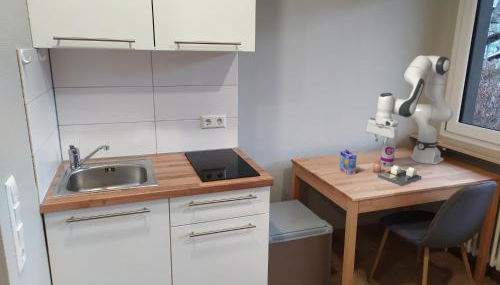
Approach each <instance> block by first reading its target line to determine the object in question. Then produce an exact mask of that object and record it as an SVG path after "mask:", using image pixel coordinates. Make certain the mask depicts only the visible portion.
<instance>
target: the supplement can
mask: <svg viewBox="0 0 500 285" xmlns="http://www.w3.org/2000/svg"><path fill="white" fill-rule="evenodd" d="M380 153H381V154H380V161H379V162H380V163H382V165H381V166H385V167H393V166H394V162H395V153H396V143H395V142H394V141H393V142H392V141H389V140H388V141H387V144H383V143H382V145H381V152H380Z"/></svg>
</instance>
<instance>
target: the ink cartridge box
mask: <svg viewBox="0 0 500 285" xmlns="http://www.w3.org/2000/svg"><path fill="white" fill-rule="evenodd" d="M356 165H357V155H356V154H355V153H352V152H351V151H349V150H348V149H346V148H345V149H344V151H343V150H342V151H340V155H339V169H338V170H339V171H341V172H342V173H345V174H346V175H348V176H349V175H355V174H356V167H357V166H356Z"/></svg>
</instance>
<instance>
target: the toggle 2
mask: <svg viewBox="0 0 500 285" xmlns="http://www.w3.org/2000/svg"><path fill="white" fill-rule="evenodd" d="M405 171H406V175H408V176H414V175H417V173H418V172H417V171H418V169H416V168H414V167H411V166H410V167H408V168H407V169H406V170H405Z"/></svg>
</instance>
